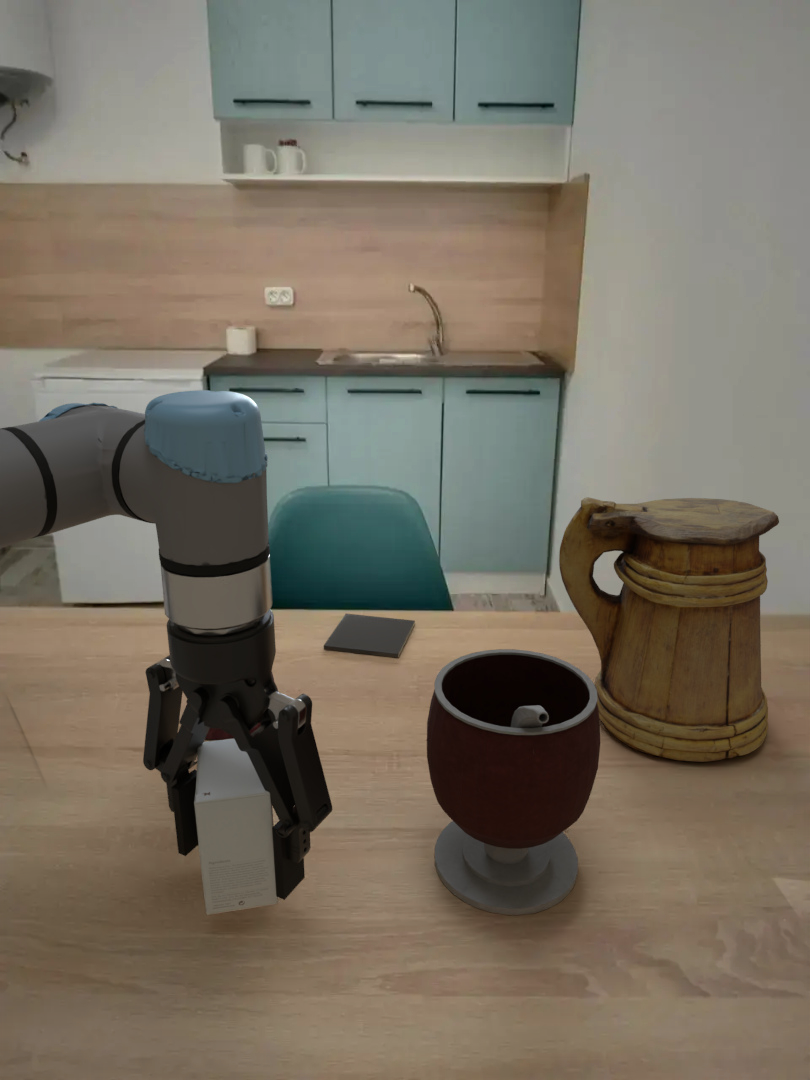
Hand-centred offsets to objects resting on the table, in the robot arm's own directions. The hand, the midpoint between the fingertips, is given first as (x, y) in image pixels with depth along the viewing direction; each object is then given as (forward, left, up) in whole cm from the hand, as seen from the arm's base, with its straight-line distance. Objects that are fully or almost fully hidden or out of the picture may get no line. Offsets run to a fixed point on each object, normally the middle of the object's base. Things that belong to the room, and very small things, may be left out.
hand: (240, 865), depth 67 cm
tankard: (+24, +43, -3) cm, 49 cm away
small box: (0, 0, -1) cm, 1 cm away
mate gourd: (+18, +13, -3) cm, 22 cm away
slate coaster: (-14, +45, -3) cm, 47 cm away
